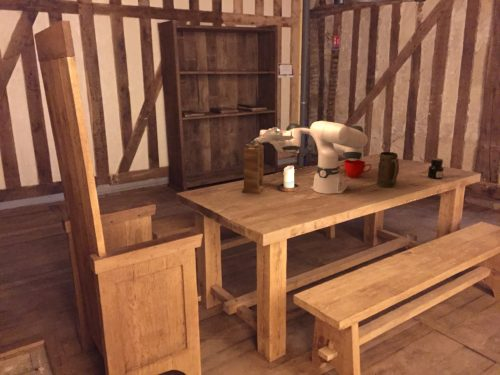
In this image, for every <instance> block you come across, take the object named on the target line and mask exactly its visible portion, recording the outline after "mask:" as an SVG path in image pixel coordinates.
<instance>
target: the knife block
mask: <svg viewBox="0 0 500 375" xmlns="http://www.w3.org/2000/svg"><path fill="white" fill-rule="evenodd" d="M264 147H265V145H263V143H262V142H259V146H258V145H254V140H253V141H252V140H251V141H250V142H249V143H247V144H245V147H244V148H243V189H242V190H241V193H243V194H253V195H255V194H256V195H260V194H261V193H262V191H263V190H265V187H266V186H265V185H264V164H265V163H264V162H265V160H264V155H265V154H264V150H265V149H264Z"/></svg>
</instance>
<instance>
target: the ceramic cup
mask: <svg viewBox="0 0 500 375" xmlns="http://www.w3.org/2000/svg"><path fill="white" fill-rule="evenodd" d="M343 166H344V167H343V169H344V172H345V174H346V175H347V177H348V178H350V179H359V178H360V177H361V176H362V174H365V173H368V172H369V171H370V170H371V169H372V165H371V164H370V163H367V164H366V161H363V160H361V159H359V160H357V161H350V160H347V159H346V160H344V162H343ZM367 166H369V168H368V169H367V170H365V168H366V167H367Z"/></svg>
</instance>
